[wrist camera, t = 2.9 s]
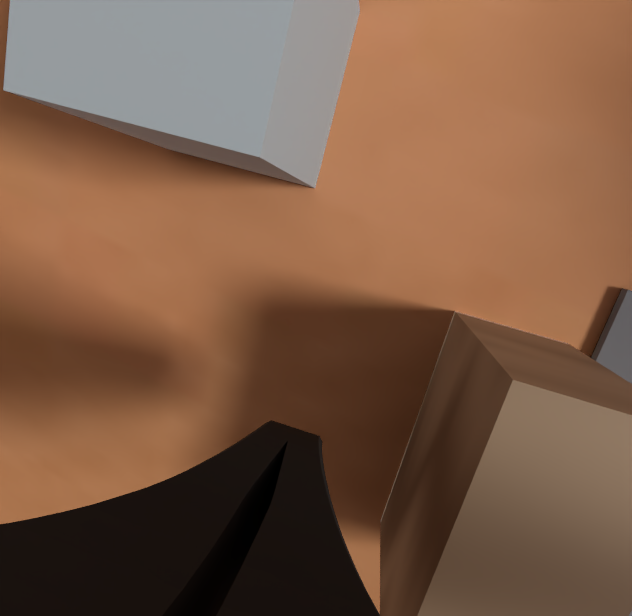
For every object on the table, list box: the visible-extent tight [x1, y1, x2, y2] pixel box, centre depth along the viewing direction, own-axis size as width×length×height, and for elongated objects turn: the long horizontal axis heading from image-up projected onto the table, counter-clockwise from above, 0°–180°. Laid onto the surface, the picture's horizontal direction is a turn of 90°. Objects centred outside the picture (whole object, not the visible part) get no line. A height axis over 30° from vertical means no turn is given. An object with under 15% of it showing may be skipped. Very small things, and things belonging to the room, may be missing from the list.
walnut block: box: [380, 311, 632, 616], centre depth 11 cm, size 8×4×6 cm, turn 165°
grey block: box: [3, 0, 360, 188], centre depth 10 cm, size 5×5×6 cm
